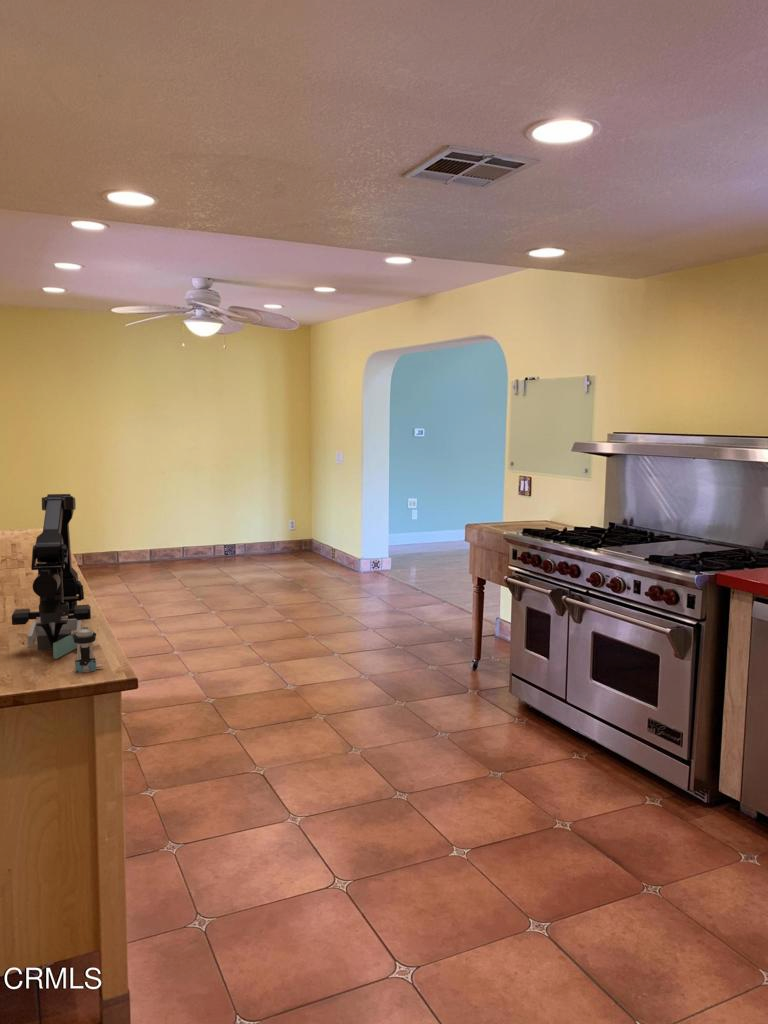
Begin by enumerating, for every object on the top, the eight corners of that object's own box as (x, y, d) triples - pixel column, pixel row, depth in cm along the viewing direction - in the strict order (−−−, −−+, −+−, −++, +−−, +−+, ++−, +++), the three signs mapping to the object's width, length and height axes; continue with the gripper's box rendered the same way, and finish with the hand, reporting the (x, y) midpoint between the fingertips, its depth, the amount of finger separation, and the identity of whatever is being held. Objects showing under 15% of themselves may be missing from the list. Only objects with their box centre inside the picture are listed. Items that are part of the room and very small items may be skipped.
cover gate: (53, 658, 194) (52, 643, 193) (82, 643, 207) (81, 629, 206) (56, 658, 194) (55, 643, 193) (85, 643, 207) (84, 629, 206)
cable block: (39, 645, 206) (38, 631, 206) (71, 643, 209) (70, 628, 208) (37, 651, 202) (36, 636, 201) (70, 648, 204) (69, 633, 204)
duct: (32, 632, 218) (32, 616, 217) (89, 627, 223) (89, 612, 222) (27, 648, 202) (27, 632, 202) (88, 643, 208) (88, 627, 207)
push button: (102, 665, 190) (101, 626, 189) (104, 672, 185) (102, 632, 184) (73, 668, 188) (72, 629, 186) (74, 675, 183) (72, 635, 181)
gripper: (7, 598, 188) (11, 659, 190) (89, 592, 194) (91, 652, 196) (12, 587, 198) (15, 646, 200) (89, 583, 205) (91, 639, 207)
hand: (53, 646), depth 201 cm, fingers closed
